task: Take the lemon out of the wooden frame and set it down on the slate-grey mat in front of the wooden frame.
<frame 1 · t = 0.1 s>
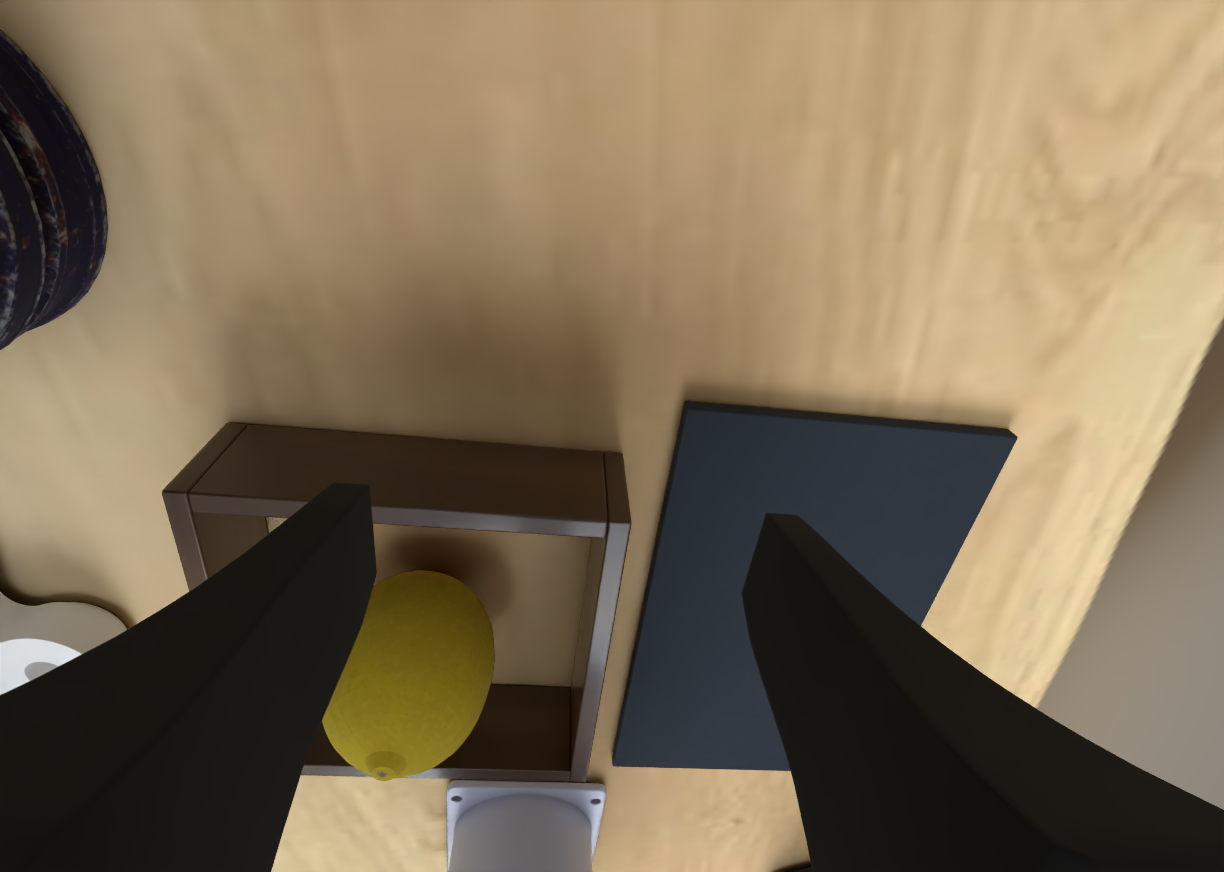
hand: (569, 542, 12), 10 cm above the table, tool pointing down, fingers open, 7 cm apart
mat: (778, 618, 27), on the table
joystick: (46, 630, 26), on the table
lemon: (435, 578, 26), resting in wooden frame
two-way radio: (801, 868, 39), on the table
wooden frame: (434, 581, 25), on the table
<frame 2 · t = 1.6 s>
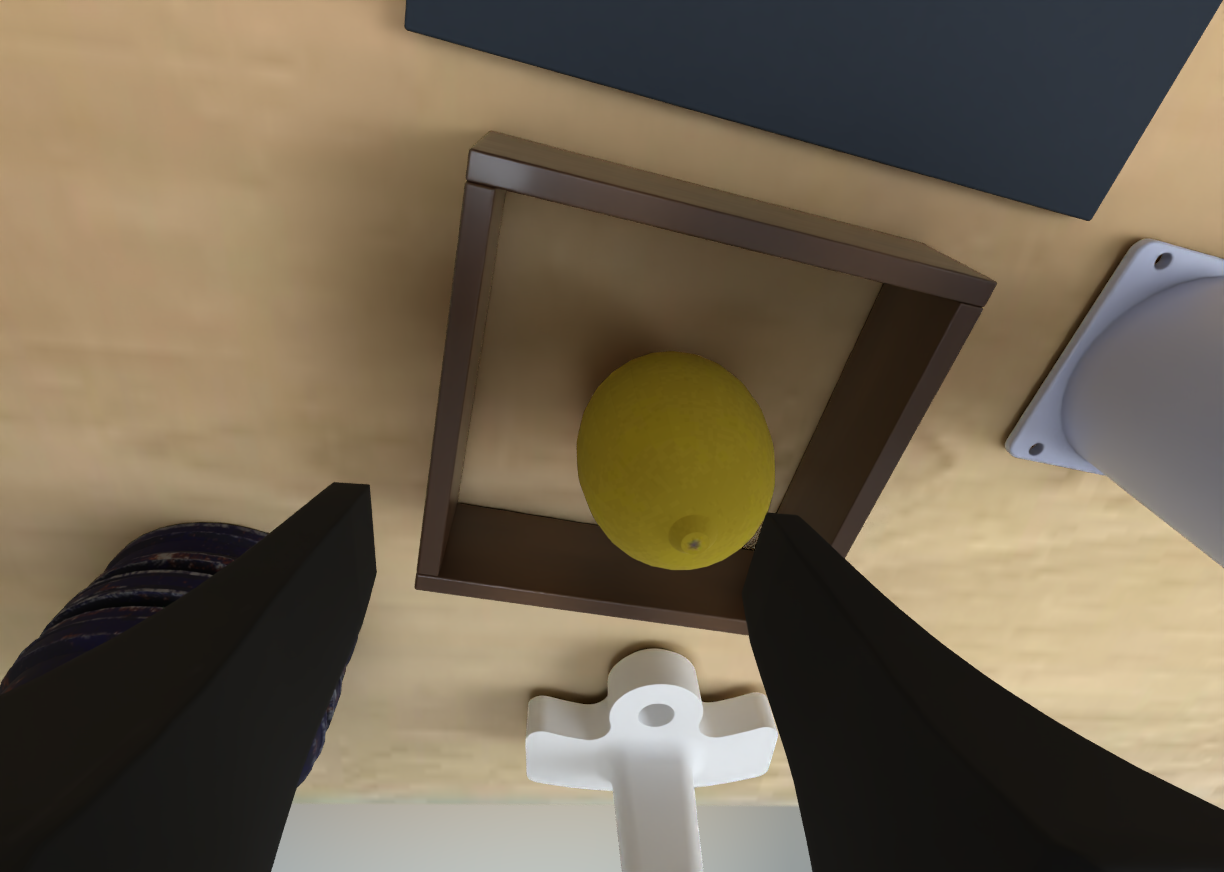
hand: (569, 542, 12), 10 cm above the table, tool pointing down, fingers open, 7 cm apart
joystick: (647, 693, 30), on the table
lemon: (656, 389, 22), resting in wooden frame
wooden frame: (656, 391, 22), on the table
dark navy cylinder: (238, 612, 26), on the table
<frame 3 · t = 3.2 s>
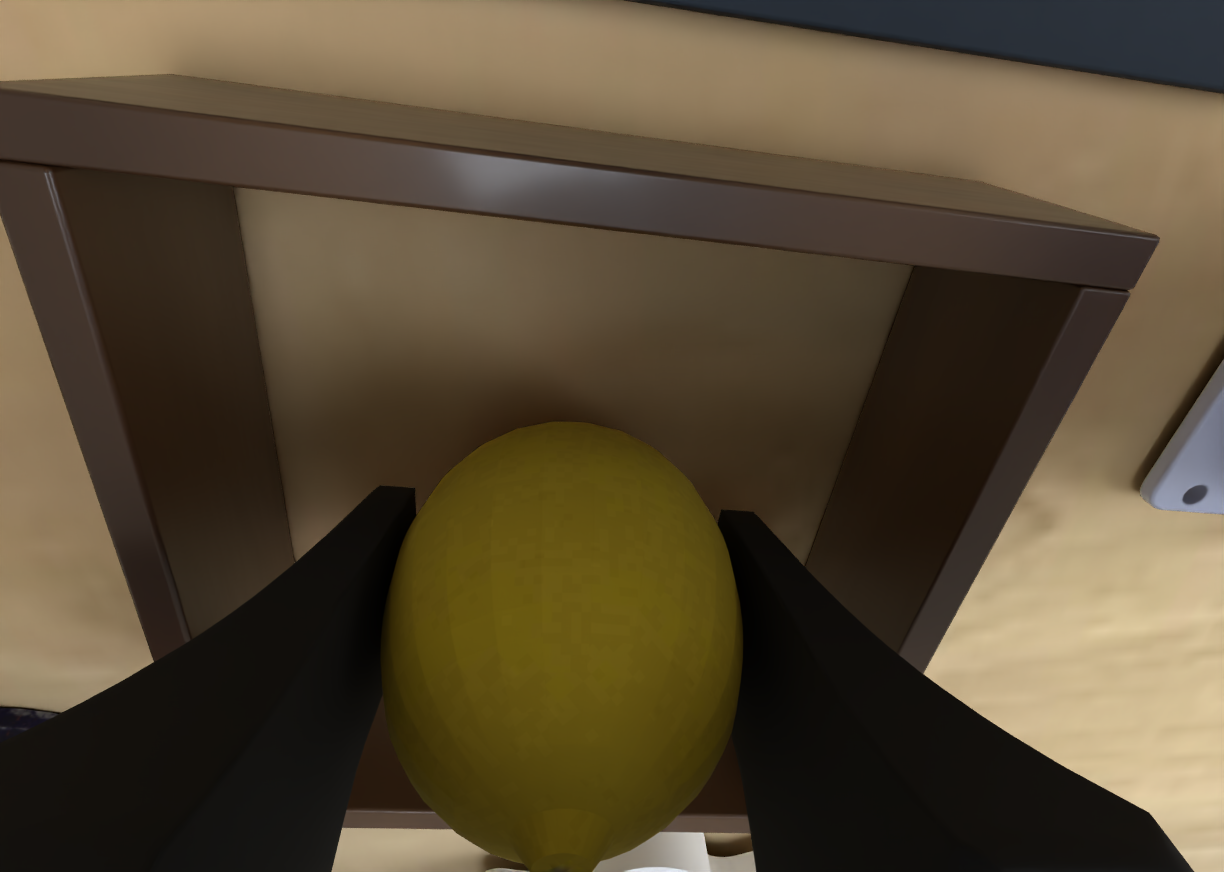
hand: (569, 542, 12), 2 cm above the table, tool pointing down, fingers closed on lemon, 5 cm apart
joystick: (642, 847, 22), on the table
lemon: (567, 464, 14), resting in wooden frame, touching gripper
wooden frame: (567, 470, 14), on the table
dark navy cylinder: (63, 804, 19), on the table
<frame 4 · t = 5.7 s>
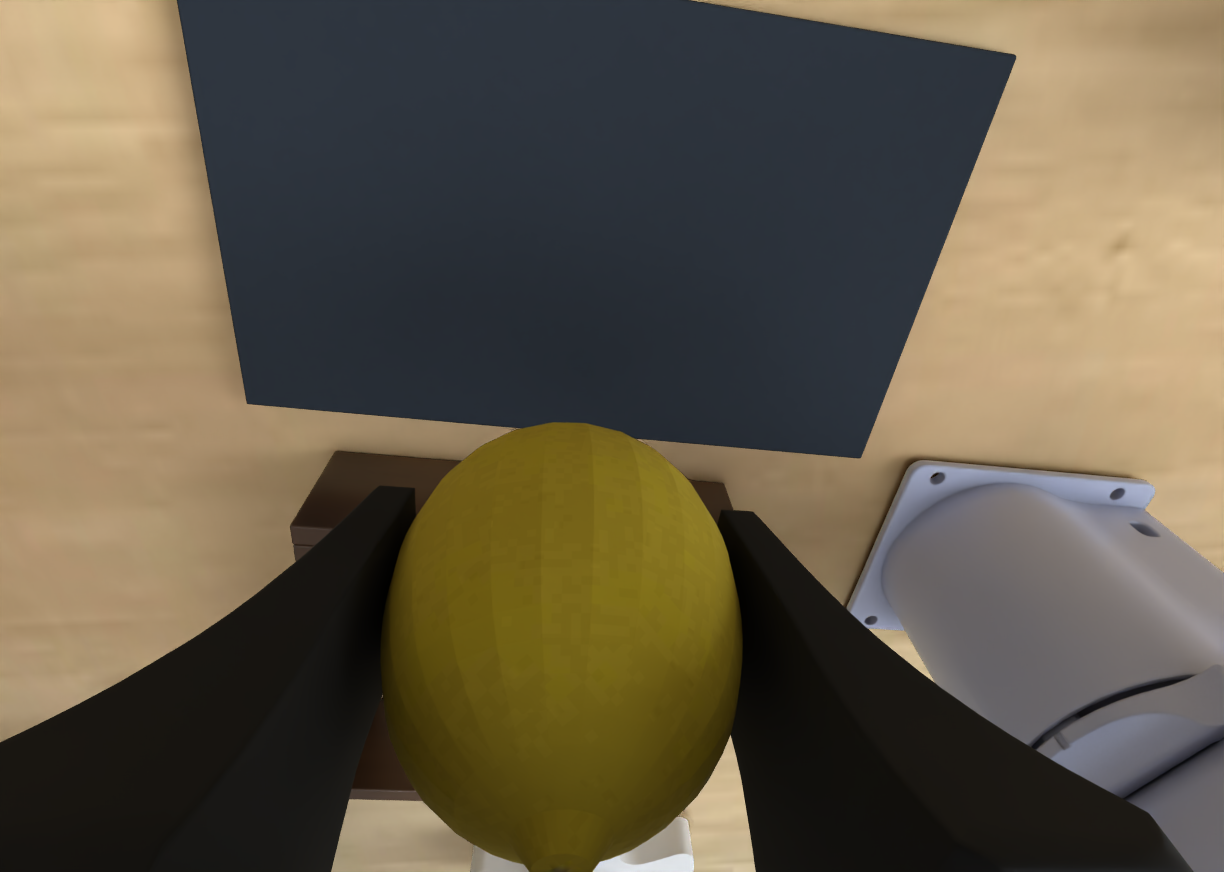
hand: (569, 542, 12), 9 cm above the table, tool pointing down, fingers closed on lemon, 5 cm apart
mat: (590, 243, 18), on the table
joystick: (581, 821, 34), on the table
lemon: (567, 465, 14), point 7 cm above the table, touching gripper
wooden frame: (523, 607, 25), on the table
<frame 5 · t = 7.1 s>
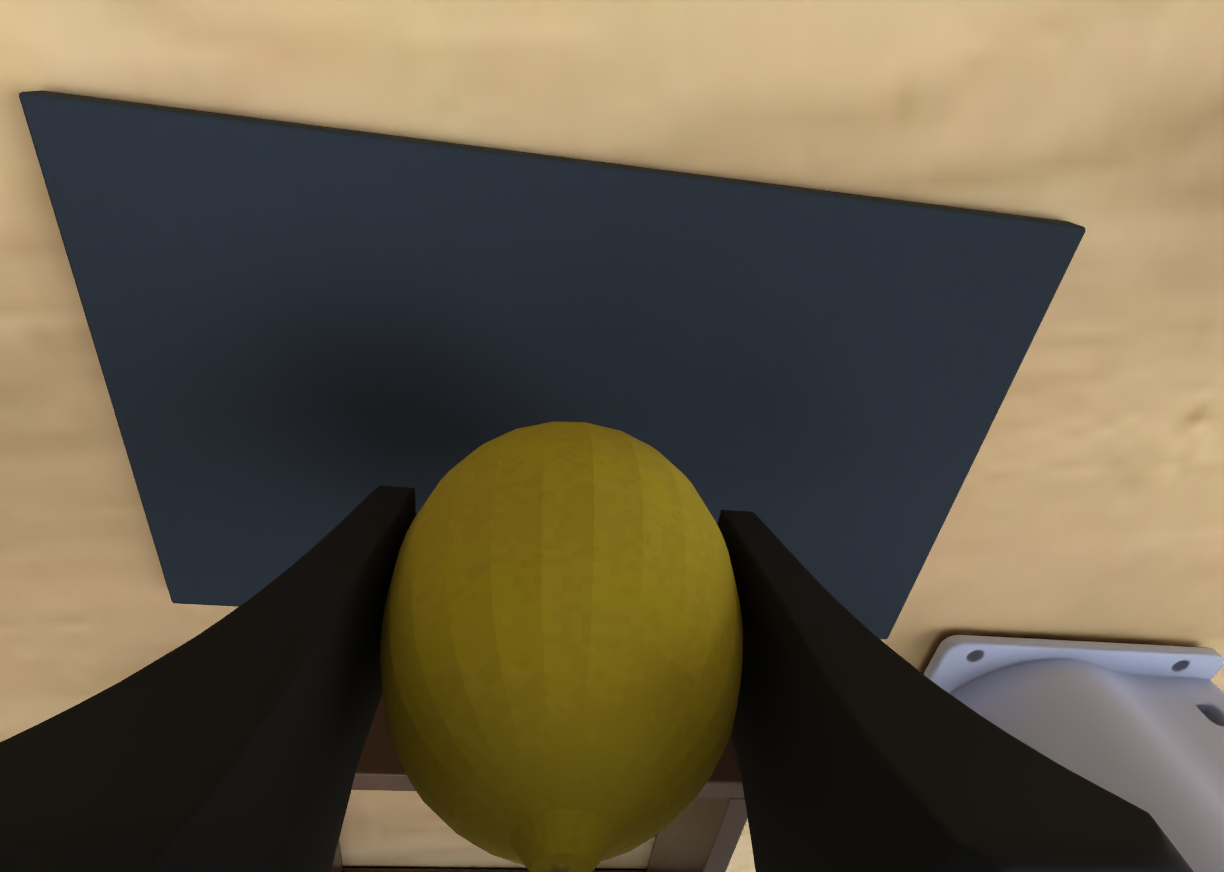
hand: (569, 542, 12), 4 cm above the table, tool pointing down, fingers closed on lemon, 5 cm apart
mat: (570, 427, 15), on the table
lemon: (567, 464, 14), point 2 cm above the table, touching gripper
wooden frame: (504, 779, 23), on the table
when the fingers open (3 cm above the table, at t = 8.1 s): lemon stays where it is, resting on mat.
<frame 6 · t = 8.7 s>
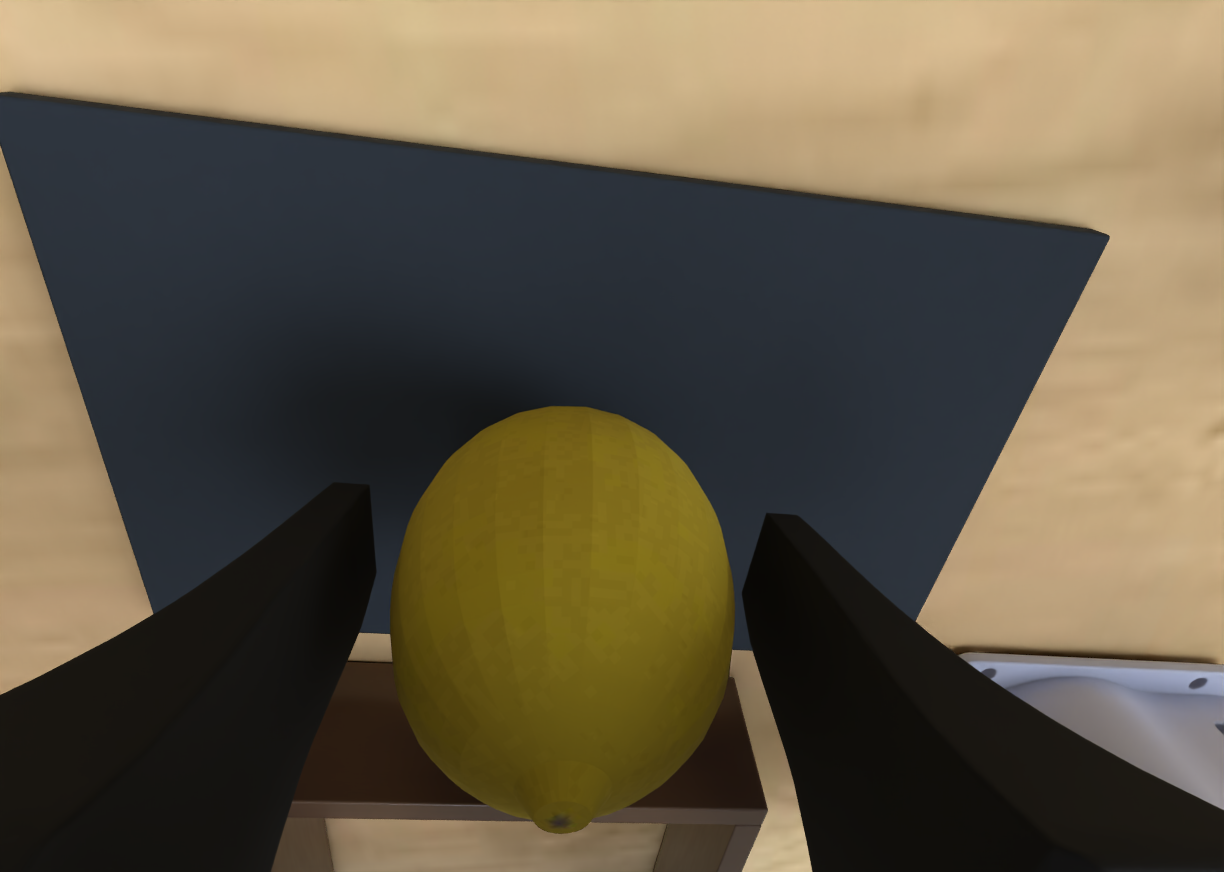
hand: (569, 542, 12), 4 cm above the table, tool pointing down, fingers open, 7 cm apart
mat: (569, 442, 15), on the table
lemon: (567, 451, 14), resting on mat
wooden frame: (502, 799, 22), on the table
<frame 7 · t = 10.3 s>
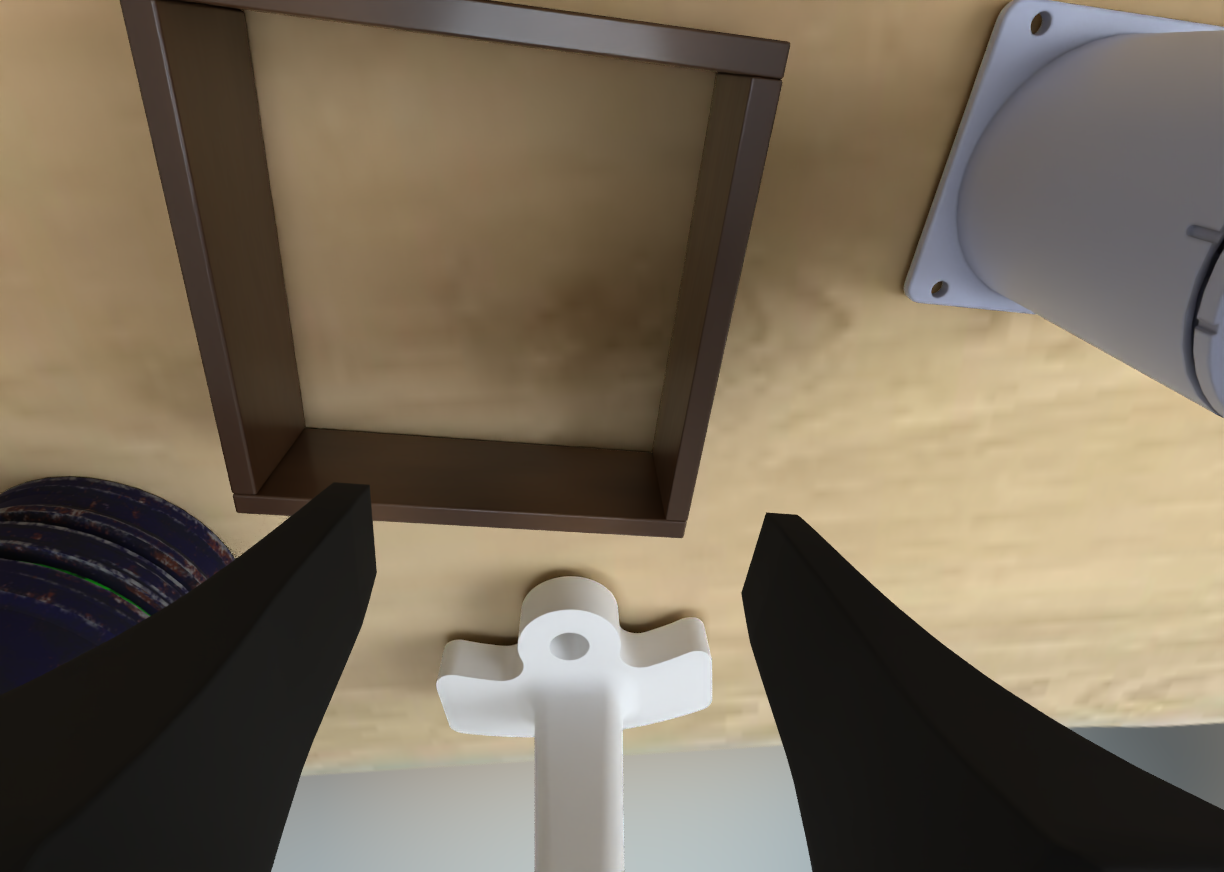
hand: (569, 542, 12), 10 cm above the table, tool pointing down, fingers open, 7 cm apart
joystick: (574, 630, 28), on the table
wooden frame: (486, 271, 20), on the table
dark navy cylinder: (120, 575, 25), on the table
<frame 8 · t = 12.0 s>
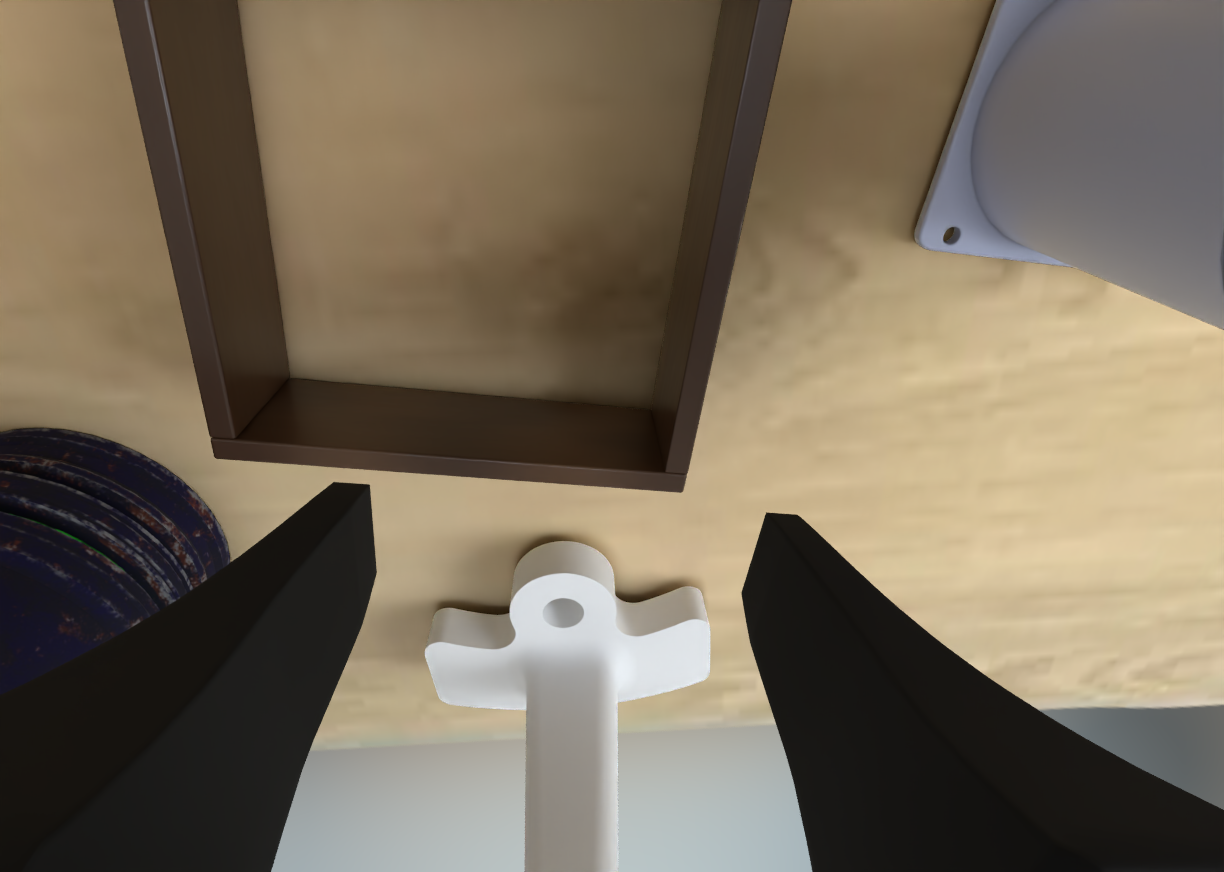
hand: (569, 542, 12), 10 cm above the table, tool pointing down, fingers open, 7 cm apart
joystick: (568, 600, 27), on the table
wooden frame: (479, 210, 19), on the table
dark navy cylinder: (96, 536, 24), on the table
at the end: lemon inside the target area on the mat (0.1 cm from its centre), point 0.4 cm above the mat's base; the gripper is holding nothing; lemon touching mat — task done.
